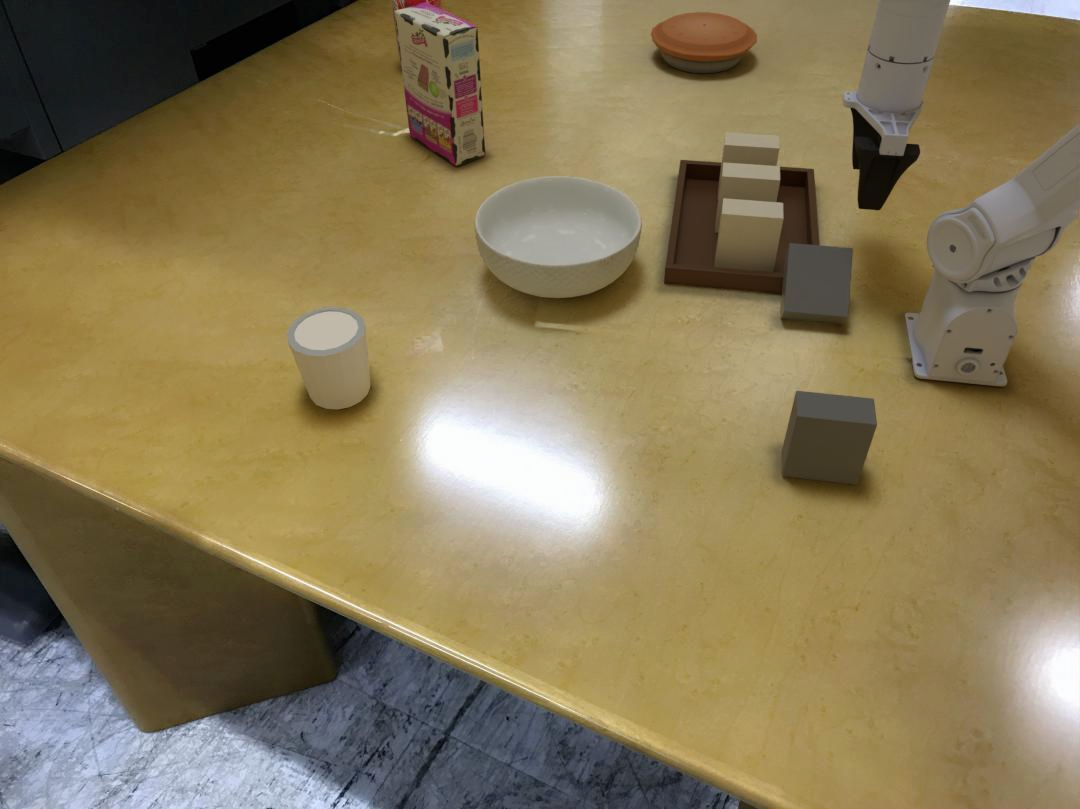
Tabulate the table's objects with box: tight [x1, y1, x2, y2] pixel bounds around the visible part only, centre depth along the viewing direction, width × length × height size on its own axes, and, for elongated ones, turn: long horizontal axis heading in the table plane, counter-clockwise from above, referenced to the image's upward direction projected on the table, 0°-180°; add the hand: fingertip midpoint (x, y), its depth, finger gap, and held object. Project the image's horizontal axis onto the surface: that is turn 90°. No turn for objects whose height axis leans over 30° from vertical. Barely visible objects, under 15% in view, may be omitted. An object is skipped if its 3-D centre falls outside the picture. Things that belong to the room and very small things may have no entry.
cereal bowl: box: [474, 175, 643, 299], centre depth 93 cm, size 17×17×7 cm
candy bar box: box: [394, 2, 486, 167], centre depth 111 cm, size 11×5×16 cm, turn 39°
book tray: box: [663, 159, 821, 295], centre depth 99 cm, size 23×16×3 cm
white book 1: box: [717, 131, 781, 200], centre depth 103 cm, size 3×6×7 cm, turn 80°
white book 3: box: [715, 198, 784, 272], centre depth 92 cm, size 3×6×7 cm, turn 79°
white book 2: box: [715, 162, 781, 233], centre depth 98 cm, size 3×6×7 cm, turn 80°
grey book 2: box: [781, 390, 878, 486], centre depth 72 cm, size 3×6×7 cm, turn 80°
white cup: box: [286, 306, 372, 410], centre depth 81 cm, size 7×7×7 cm
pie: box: [650, 11, 758, 74], centre depth 133 cm, size 15×16×5 cm
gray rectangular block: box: [779, 243, 854, 325], centre depth 88 cm, size 3×6×7 cm
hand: (866, 187), depth 89 cm, fingers open, 7 cm apart
